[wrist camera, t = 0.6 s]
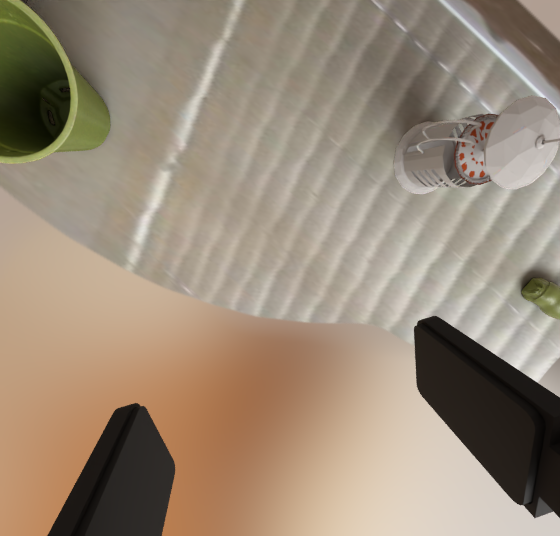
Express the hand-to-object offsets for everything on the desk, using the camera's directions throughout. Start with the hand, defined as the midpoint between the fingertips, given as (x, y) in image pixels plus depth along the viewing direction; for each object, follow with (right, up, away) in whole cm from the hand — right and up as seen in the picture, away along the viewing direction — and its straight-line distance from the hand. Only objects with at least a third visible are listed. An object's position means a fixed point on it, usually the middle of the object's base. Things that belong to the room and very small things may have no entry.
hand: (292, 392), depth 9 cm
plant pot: (-24, +22, +21) cm, 39 cm away
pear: (+48, -1, +40) cm, 63 cm away
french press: (+20, +20, +29) cm, 40 cm away
